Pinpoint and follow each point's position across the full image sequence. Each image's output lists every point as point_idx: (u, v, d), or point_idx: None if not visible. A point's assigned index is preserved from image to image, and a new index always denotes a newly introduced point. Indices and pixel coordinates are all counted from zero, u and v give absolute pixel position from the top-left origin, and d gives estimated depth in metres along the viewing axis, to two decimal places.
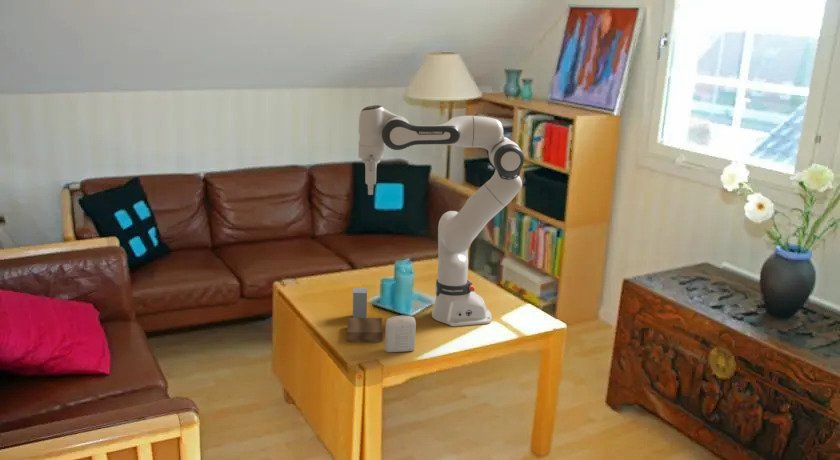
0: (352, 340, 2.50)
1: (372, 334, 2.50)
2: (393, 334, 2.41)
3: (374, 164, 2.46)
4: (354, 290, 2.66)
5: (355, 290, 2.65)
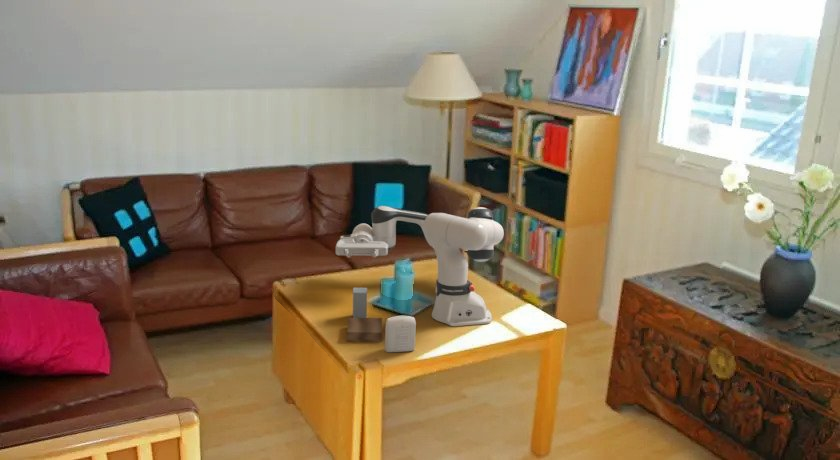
0: (352, 340, 2.50)
1: (372, 334, 2.50)
2: (393, 334, 2.41)
3: None
4: (354, 290, 2.66)
5: (355, 290, 2.65)
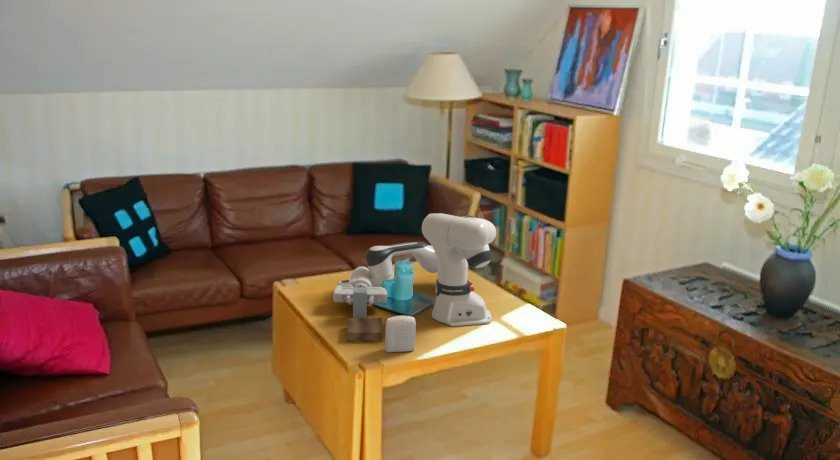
0: (352, 340, 2.50)
1: (372, 334, 2.50)
2: (393, 334, 2.41)
3: None
4: (354, 290, 2.66)
5: (355, 290, 2.65)
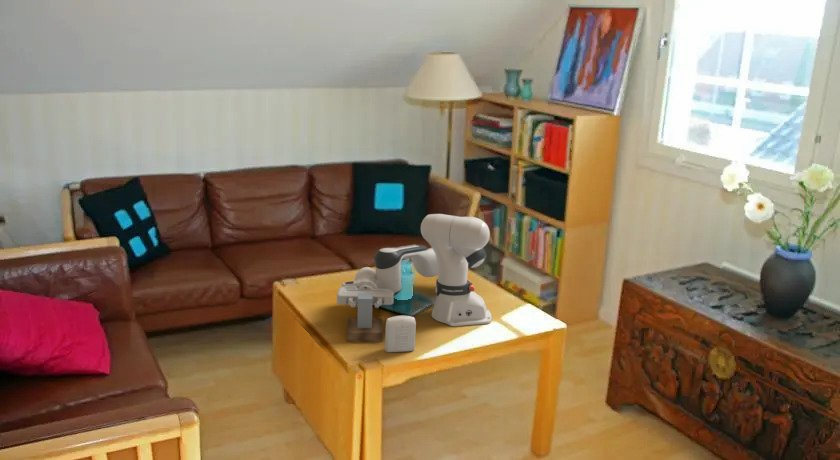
0: (352, 340, 2.50)
1: (372, 335, 2.50)
2: (393, 334, 2.41)
3: None
4: (359, 296, 2.52)
5: (360, 296, 2.51)
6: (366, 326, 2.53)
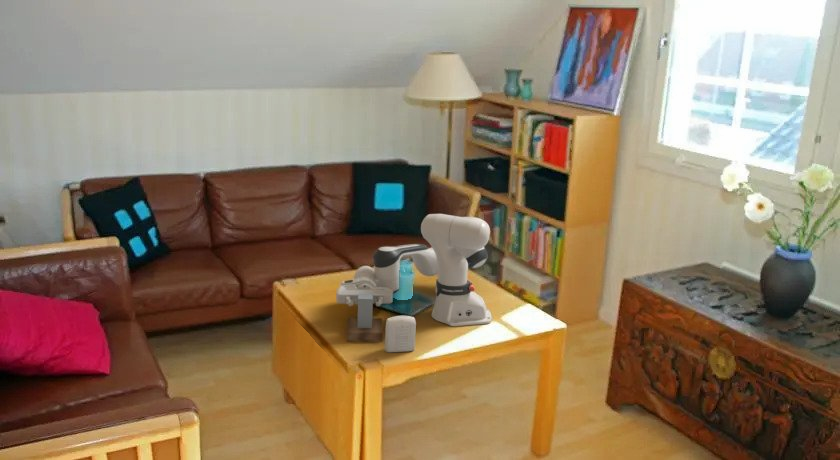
0: (352, 340, 2.50)
1: (372, 334, 2.50)
2: (393, 334, 2.41)
3: None
4: (359, 296, 2.51)
5: (360, 296, 2.51)
6: (366, 326, 2.53)
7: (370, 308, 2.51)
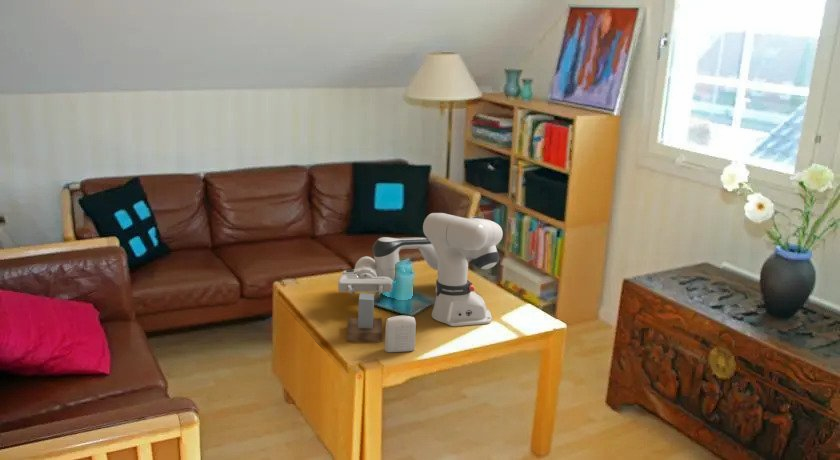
0: (352, 340, 2.50)
1: (372, 334, 2.50)
2: (393, 334, 2.41)
3: None
4: (360, 296, 2.51)
5: (361, 296, 2.51)
6: (366, 326, 2.52)
7: (371, 309, 2.50)
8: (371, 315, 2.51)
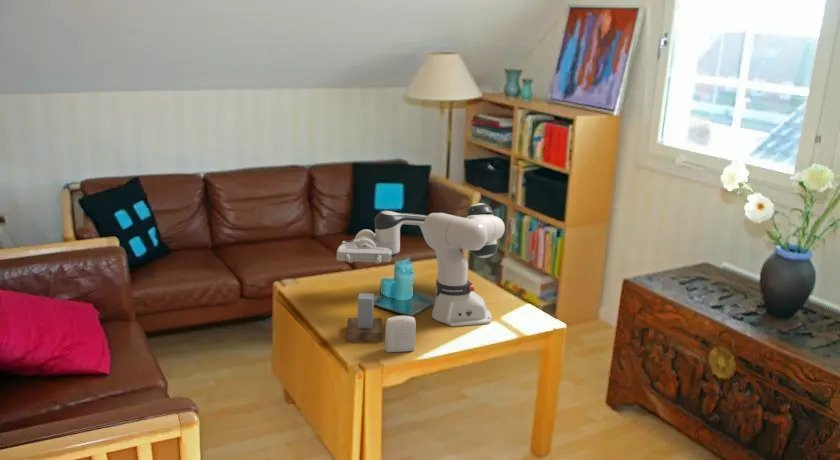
0: (352, 340, 2.50)
1: (372, 334, 2.50)
2: (393, 334, 2.41)
3: None
4: (360, 296, 2.51)
5: (361, 296, 2.51)
6: (366, 326, 2.52)
7: (370, 308, 2.50)
8: (370, 315, 2.51)
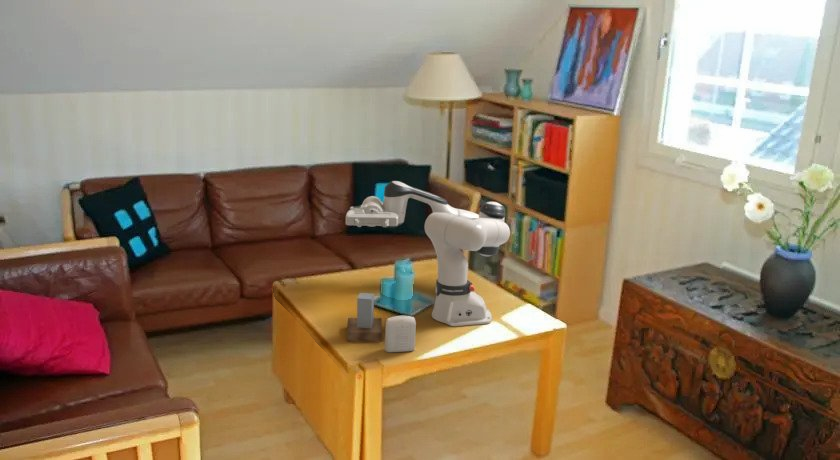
0: (352, 340, 2.50)
1: (371, 334, 2.50)
2: (393, 334, 2.41)
3: None
4: (359, 295, 2.52)
5: (360, 296, 2.51)
6: (365, 326, 2.53)
7: (369, 308, 2.50)
8: (370, 315, 2.51)
